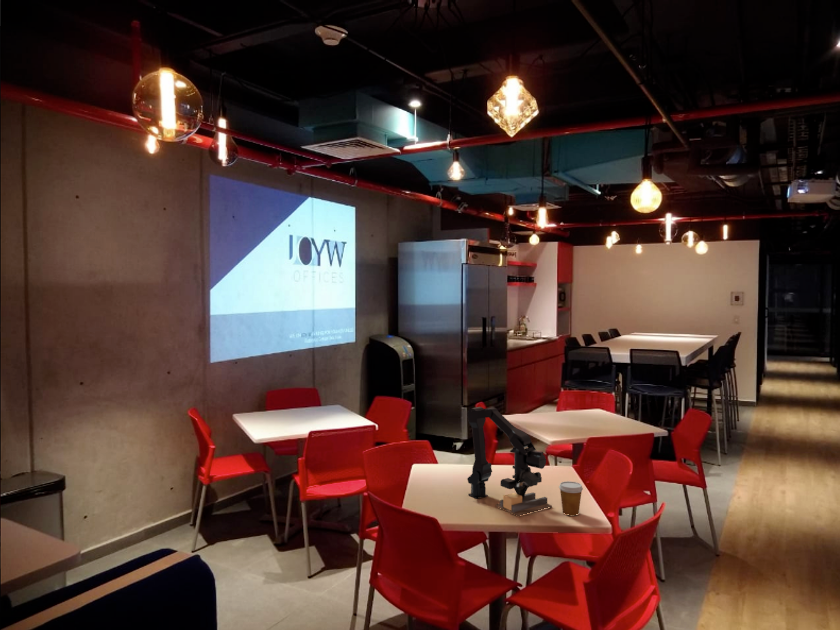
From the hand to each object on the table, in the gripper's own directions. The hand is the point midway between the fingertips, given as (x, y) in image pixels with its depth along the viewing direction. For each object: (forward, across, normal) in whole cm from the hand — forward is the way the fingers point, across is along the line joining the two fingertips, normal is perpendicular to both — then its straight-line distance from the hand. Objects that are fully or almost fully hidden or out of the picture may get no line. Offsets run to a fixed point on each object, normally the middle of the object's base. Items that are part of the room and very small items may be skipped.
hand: (521, 500), depth 248 cm
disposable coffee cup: (+3, +12, -16) cm, 21 cm away
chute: (+3, +1, 0) cm, 3 cm away
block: (+2, -5, 0) cm, 5 cm away
